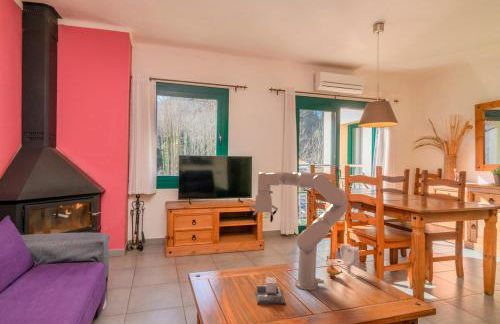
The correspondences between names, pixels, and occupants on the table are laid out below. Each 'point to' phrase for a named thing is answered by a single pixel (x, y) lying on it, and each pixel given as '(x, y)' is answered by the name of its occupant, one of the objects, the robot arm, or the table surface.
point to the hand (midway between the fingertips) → (262, 221)
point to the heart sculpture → (349, 257)
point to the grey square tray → (269, 296)
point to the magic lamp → (332, 270)
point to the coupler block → (270, 286)
